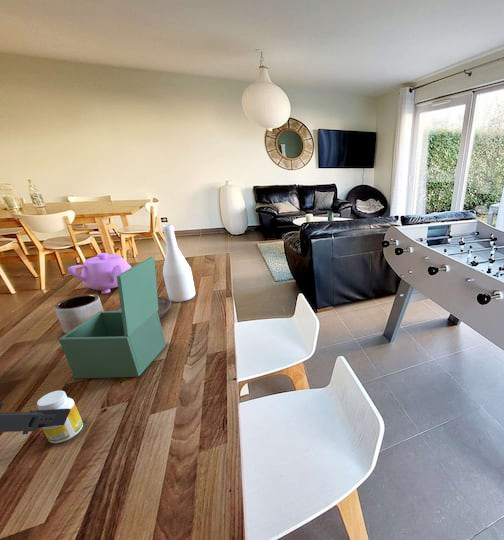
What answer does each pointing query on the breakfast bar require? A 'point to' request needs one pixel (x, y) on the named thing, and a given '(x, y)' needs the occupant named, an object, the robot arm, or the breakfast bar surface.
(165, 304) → the plant saucer
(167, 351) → the breakfast bar surface
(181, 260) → the wine bottle
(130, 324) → the lid
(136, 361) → the green open box
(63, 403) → the supplement bottle
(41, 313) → the breakfast bar surface
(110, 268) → the teapot
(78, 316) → the planter
